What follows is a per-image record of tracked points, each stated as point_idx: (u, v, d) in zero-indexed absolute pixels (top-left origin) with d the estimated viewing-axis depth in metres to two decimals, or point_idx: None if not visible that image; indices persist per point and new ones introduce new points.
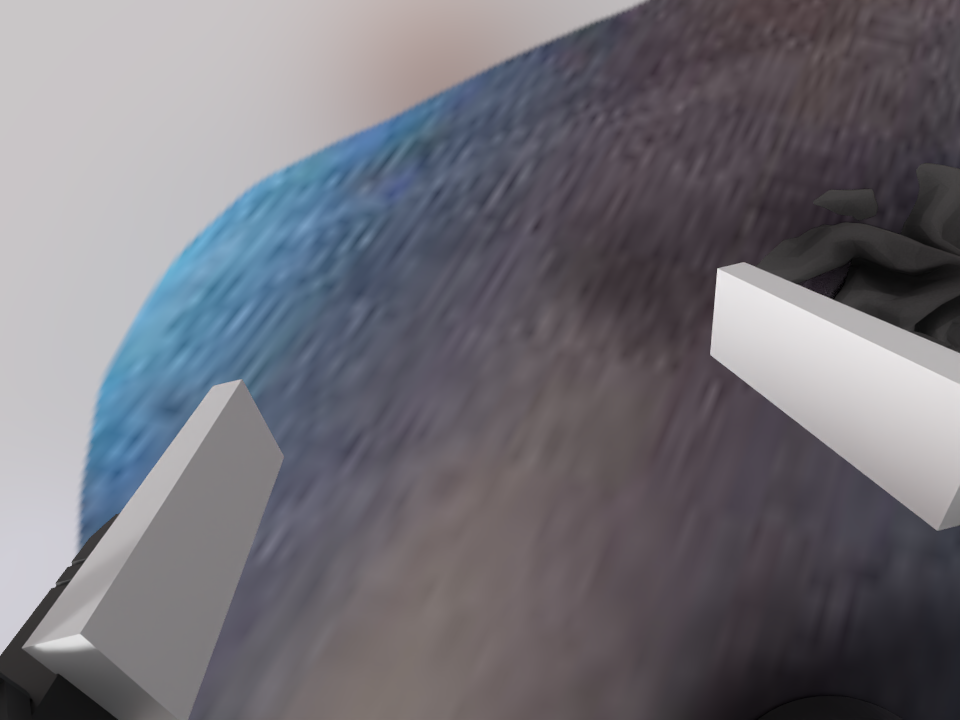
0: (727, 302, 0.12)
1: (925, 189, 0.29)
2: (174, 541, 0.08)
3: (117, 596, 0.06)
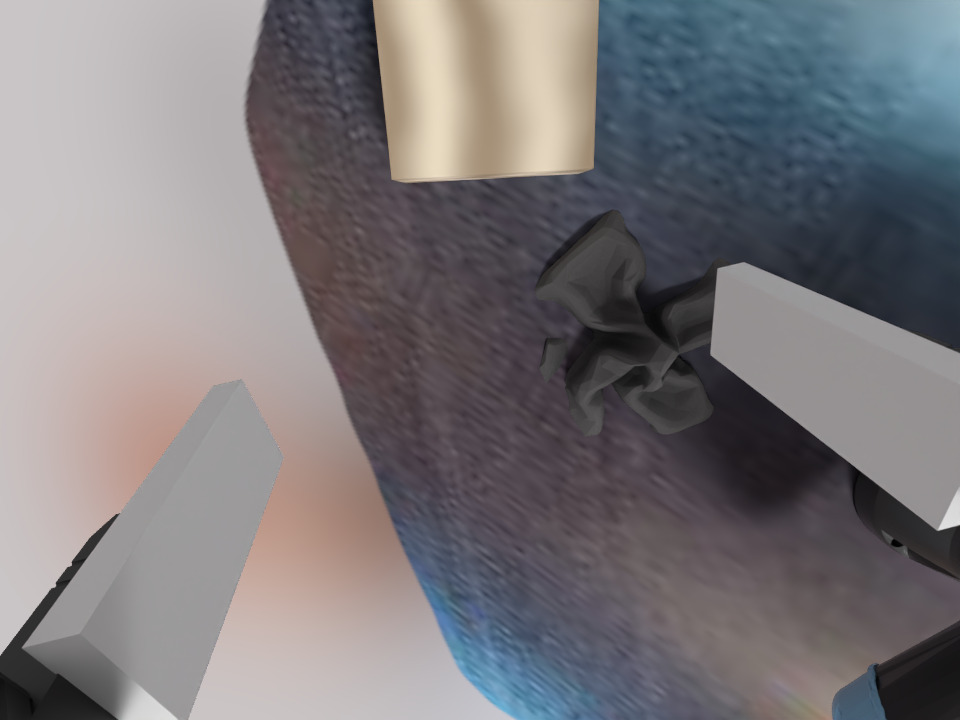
0: (727, 302, 0.12)
1: (557, 301, 0.36)
2: (174, 541, 0.08)
3: (118, 596, 0.06)
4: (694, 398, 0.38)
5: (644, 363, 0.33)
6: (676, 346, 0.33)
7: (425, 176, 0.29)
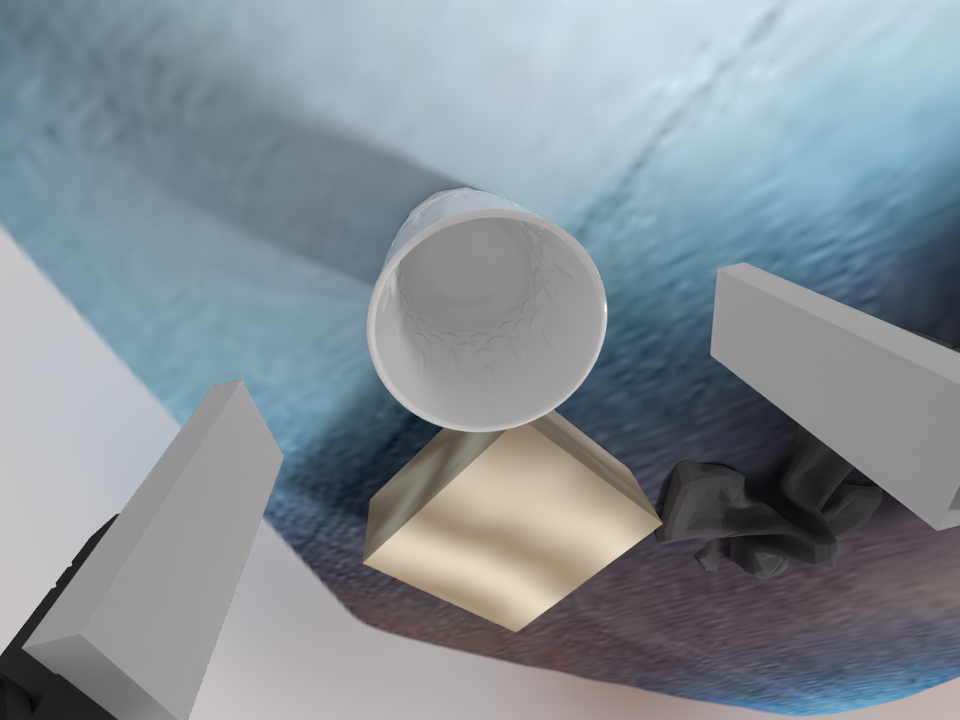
0: (727, 302, 0.12)
1: None
2: (174, 541, 0.08)
3: (117, 596, 0.06)
4: (860, 503, 0.36)
5: (810, 563, 0.32)
6: (826, 527, 0.32)
7: (538, 615, 0.30)
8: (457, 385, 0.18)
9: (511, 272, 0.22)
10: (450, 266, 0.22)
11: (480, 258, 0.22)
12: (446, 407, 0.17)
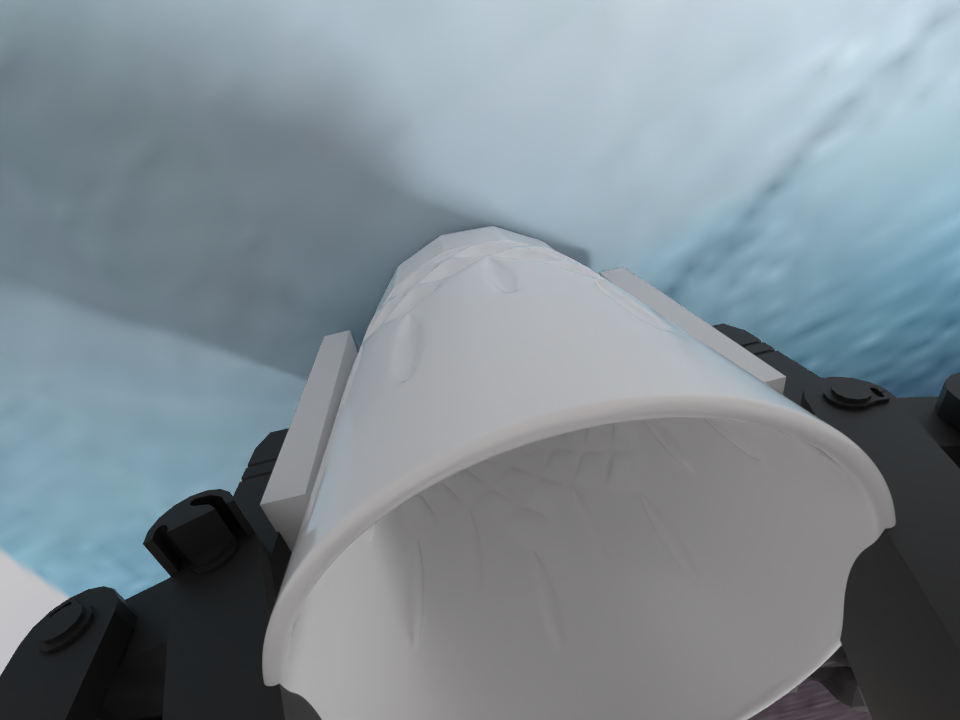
0: None
1: None
2: None
3: (316, 475, 0.08)
4: None
5: None
6: None
7: None
8: (487, 628, 0.09)
9: None
10: None
11: None
12: None
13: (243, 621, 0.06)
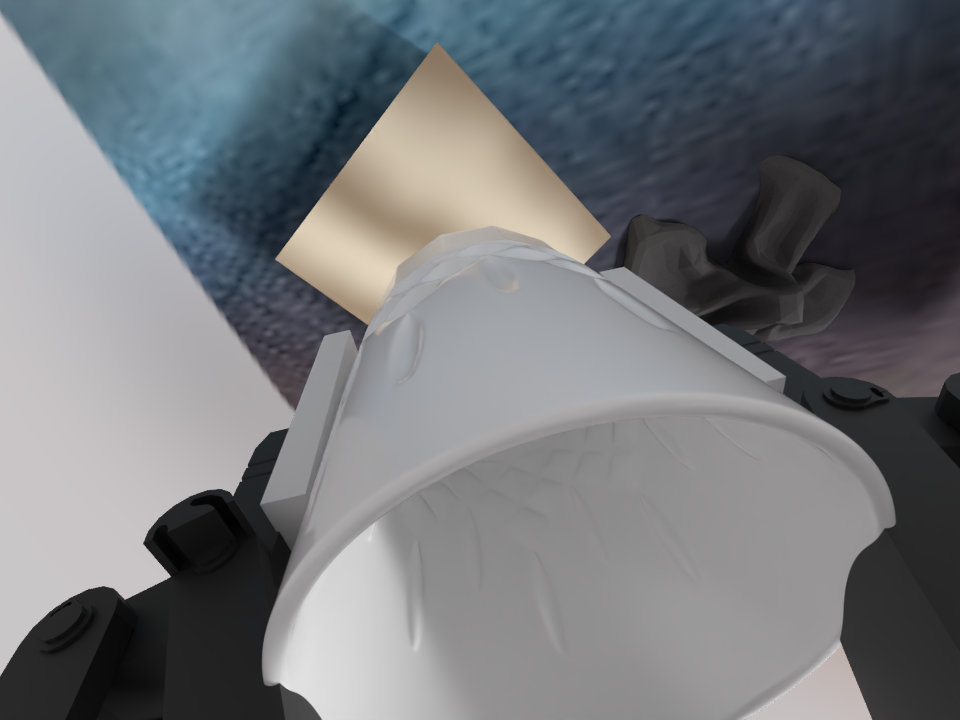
0: None
1: None
2: None
3: (316, 475, 0.08)
4: (831, 284, 0.34)
5: (775, 322, 0.30)
6: (792, 281, 0.30)
7: None
8: (487, 627, 0.09)
9: None
10: None
11: None
12: None
13: (243, 621, 0.06)
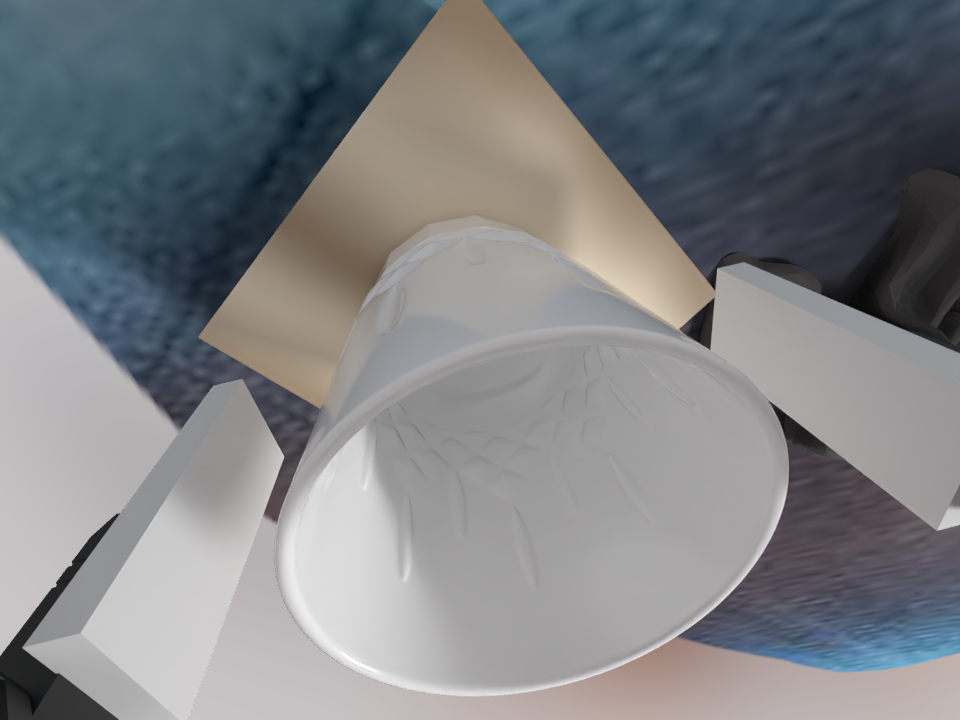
0: (727, 302, 0.12)
1: None
2: (175, 541, 0.08)
3: (118, 596, 0.06)
4: None
5: None
6: None
7: None
8: (469, 567, 0.11)
9: None
10: None
11: None
12: (452, 640, 0.09)
13: None
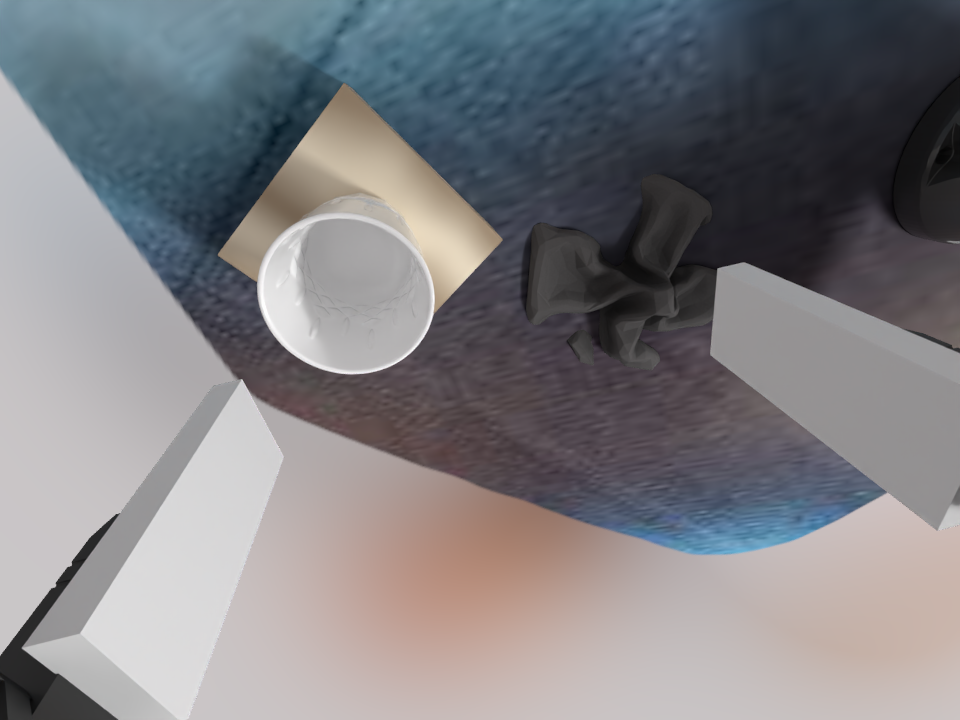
0: (727, 302, 0.12)
1: (552, 314, 0.39)
2: (174, 541, 0.08)
3: (117, 596, 0.06)
4: (711, 283, 0.40)
5: (653, 314, 0.36)
6: (666, 280, 0.35)
7: None
8: (343, 343, 0.24)
9: (398, 259, 0.28)
10: (349, 255, 0.28)
11: (372, 248, 0.28)
12: (329, 357, 0.23)
13: None
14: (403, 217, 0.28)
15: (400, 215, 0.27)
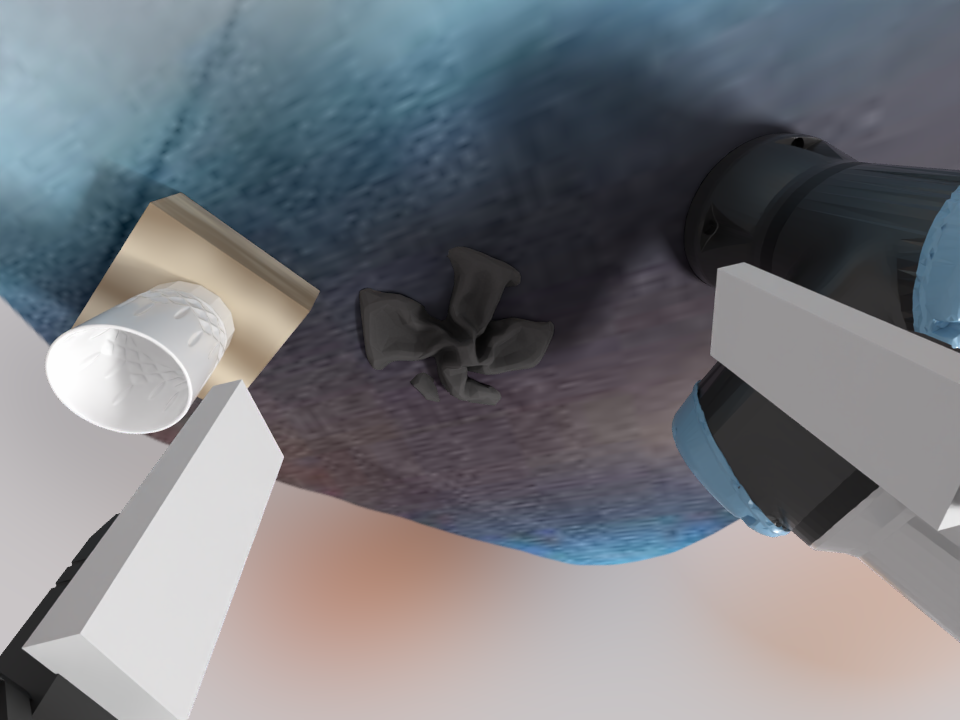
0: (727, 302, 0.12)
1: (391, 361, 0.46)
2: (174, 541, 0.08)
3: (118, 596, 0.06)
4: (528, 333, 0.46)
5: (461, 365, 0.42)
6: (471, 336, 0.42)
7: None
8: (145, 406, 0.31)
9: None
10: None
11: None
12: (123, 420, 0.30)
13: None
14: (214, 299, 0.35)
15: (210, 298, 0.34)
